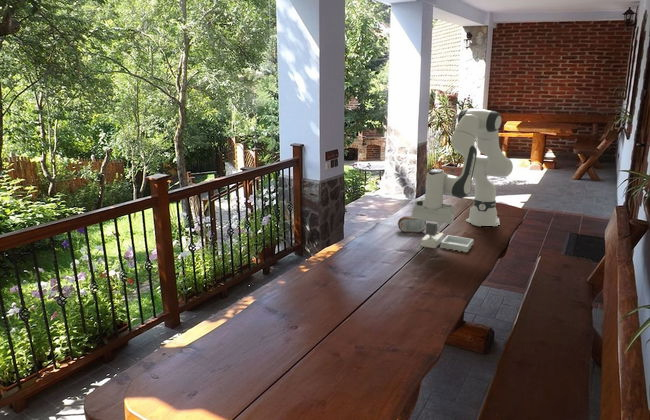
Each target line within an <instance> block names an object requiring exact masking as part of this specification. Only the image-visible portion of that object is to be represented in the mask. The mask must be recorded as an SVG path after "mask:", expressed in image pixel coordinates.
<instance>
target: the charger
mask: <svg viewBox="0 0 650 420" xmlns="http://www.w3.org/2000/svg"><path fill="white" fill-rule="evenodd" d="M438 226H439V224H438V222H432V221H427V222H426V229H425V235H429V237H433V236H435V235H436V234H437V232H438V231H436V227H438Z"/></svg>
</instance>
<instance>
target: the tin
mask: <svg viewBox="0 0 650 420" xmlns="http://www.w3.org/2000/svg"><path fill="white" fill-rule="evenodd" d="M397 226H398V228H399V230H400V231H401V232H403V233H413V234H414V233H416V234H420V233H423V232H424V231H426V229H424V225H423V223H422V220H419V219H413V218H412V216H408V215H407V216H406V215H405V216H401V217H400V218H399V219H398V222H397Z"/></svg>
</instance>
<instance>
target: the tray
mask: <svg viewBox="0 0 650 420" xmlns="http://www.w3.org/2000/svg"><path fill="white" fill-rule="evenodd" d="M439 245H440V247H439V248H440V249H443V248H446V249H445V250H449V249H453V250H452V251H455V250H458V251H457V252H461V251H463V253H466V252H467V253H469V251H470V250H471V248H472V247H473V246H474V239H473V238H468V237H463V236H456V235H449V234H447V235H446V236H444V239H443V240H442V241H441V243H440V244H439ZM472 245H473V246H472ZM471 246H472V247H471ZM469 249H470V250H469Z"/></svg>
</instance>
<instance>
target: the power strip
mask: <svg viewBox="0 0 650 420" xmlns="http://www.w3.org/2000/svg"><path fill="white" fill-rule="evenodd" d="M444 238H445V233H443V232H439V231H437V234H436V235H435V236H433V237H429V235H427V234H425V235H424V237H422V239H421V244H420V245H421V247H424V248H431V249H436V248H437V247H438V246H439V245H441V241H442V240H443V239H444Z"/></svg>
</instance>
